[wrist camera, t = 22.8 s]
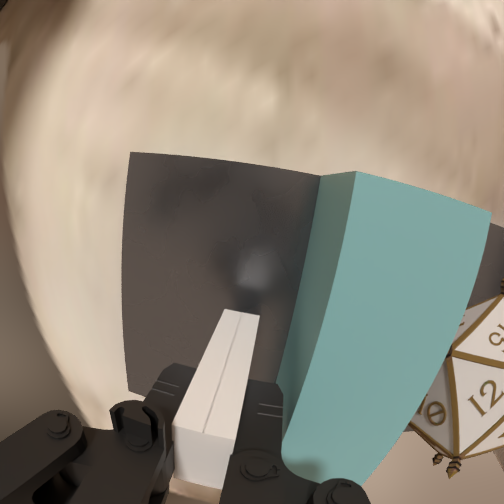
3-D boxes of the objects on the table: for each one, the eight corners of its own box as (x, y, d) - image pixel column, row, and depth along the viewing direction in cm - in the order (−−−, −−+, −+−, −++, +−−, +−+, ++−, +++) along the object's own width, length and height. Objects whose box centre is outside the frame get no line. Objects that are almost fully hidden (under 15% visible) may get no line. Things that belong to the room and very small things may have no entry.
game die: (439, 319, 16) (522, 418, 9) (339, 390, 15) (425, 517, 7) (484, 210, 10) (615, 342, 3) (356, 295, 9) (526, 520, 1)
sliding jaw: (320, 175, 11) (356, 171, 6) (415, 198, 11) (501, 216, 5) (263, 425, 15) (252, 509, 9) (334, 433, 15) (344, 512, 9)
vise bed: (144, 154, 14) (38, 142, 6) (551, 249, 12) (619, 279, 5) (137, 377, 17) (83, 455, 10) (483, 409, 15) (519, 466, 8)
